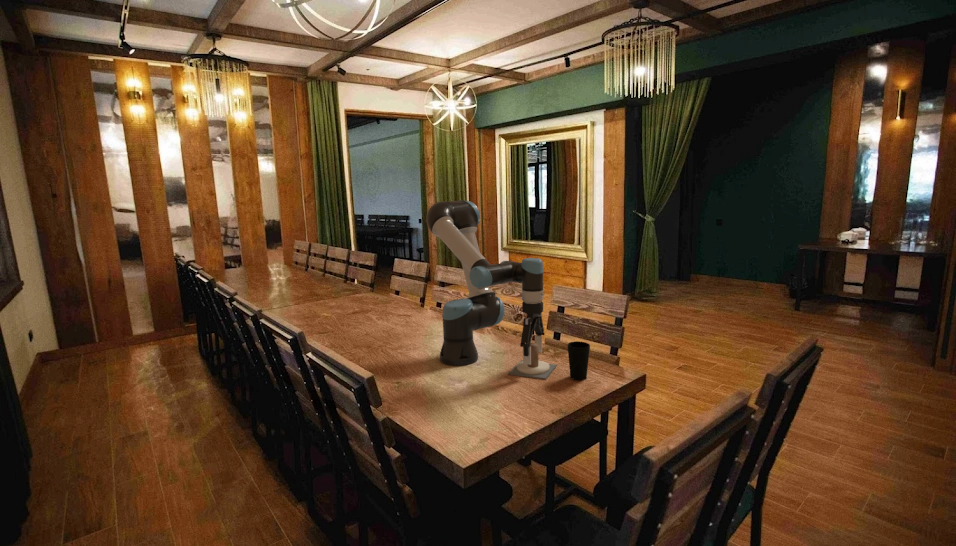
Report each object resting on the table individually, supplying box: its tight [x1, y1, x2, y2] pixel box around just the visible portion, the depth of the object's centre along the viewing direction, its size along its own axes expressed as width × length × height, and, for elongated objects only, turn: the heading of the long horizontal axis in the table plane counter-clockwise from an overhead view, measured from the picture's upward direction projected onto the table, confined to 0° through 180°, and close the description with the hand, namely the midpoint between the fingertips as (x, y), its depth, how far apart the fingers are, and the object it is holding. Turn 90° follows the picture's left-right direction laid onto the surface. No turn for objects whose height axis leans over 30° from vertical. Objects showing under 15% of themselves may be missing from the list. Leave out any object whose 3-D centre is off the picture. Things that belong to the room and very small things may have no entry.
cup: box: [567, 340, 591, 382], centre depth 168 cm, size 8×8×12 cm
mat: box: [507, 359, 558, 380], centre depth 177 cm, size 14×14×1 cm
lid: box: [516, 342, 550, 375], centre depth 176 cm, size 12×12×9 cm
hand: (532, 358), depth 176 cm, fingers open, 13 cm apart
